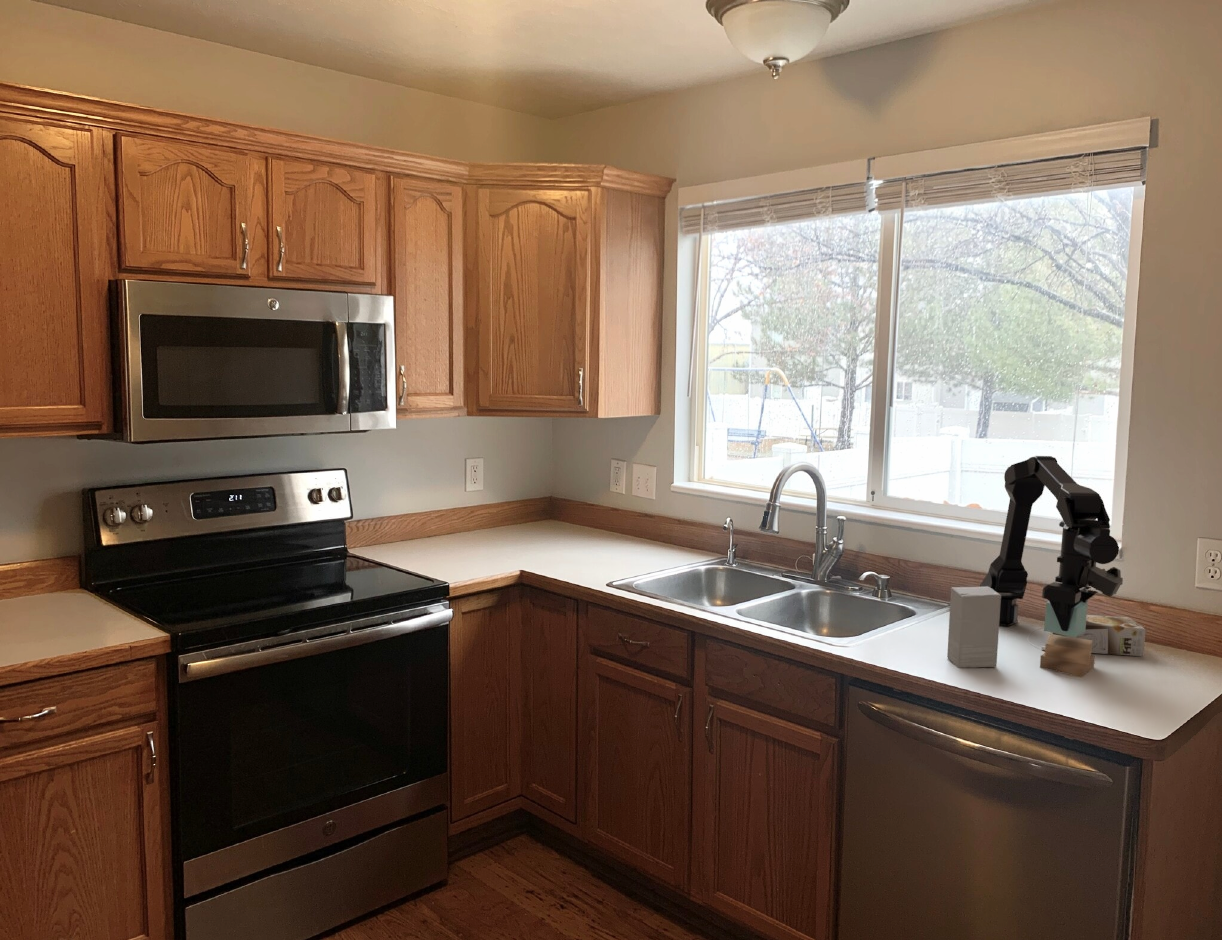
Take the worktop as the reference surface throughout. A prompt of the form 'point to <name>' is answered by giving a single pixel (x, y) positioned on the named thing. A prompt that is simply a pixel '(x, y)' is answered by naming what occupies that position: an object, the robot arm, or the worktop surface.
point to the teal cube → (1076, 622)
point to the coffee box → (1114, 635)
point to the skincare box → (973, 626)
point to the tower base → (1066, 666)
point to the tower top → (1068, 649)
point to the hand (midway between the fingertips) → (1070, 627)
